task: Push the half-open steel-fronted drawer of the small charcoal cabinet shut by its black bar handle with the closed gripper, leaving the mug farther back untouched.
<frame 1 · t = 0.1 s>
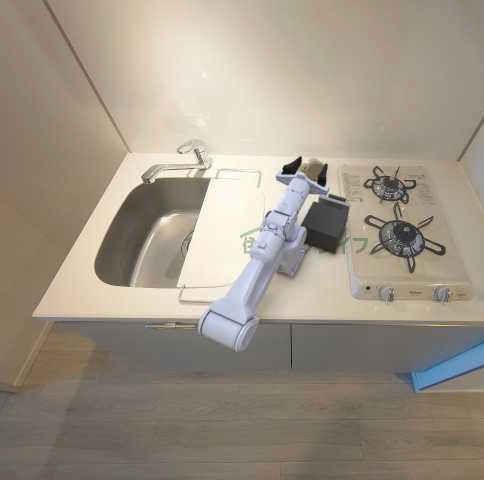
hand: (313, 162, 73), 22 cm above the worktop, tool horizontal, fingers open, 7 cm apart
mug: (313, 173, 103), on the worktop
drawer: (331, 212, 86), point 4 cm above the worktop, slide at 3.0 cm
cabinet: (323, 235, 86), on the worktop
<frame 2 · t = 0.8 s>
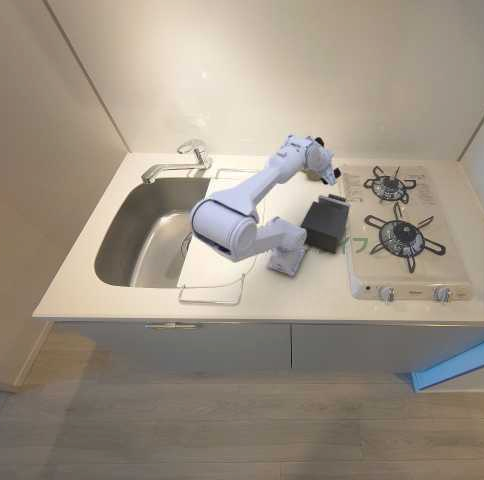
hand: (329, 164, 78), 18 cm above the worktop, tool tilted 50°, fingers open, 7 cm apart
nothing on the worktop moved.
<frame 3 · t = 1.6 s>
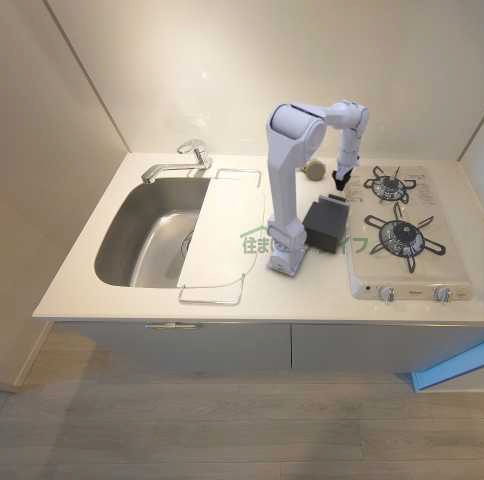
hand: (343, 182, 86), 9 cm above the worktop, tool pointing down, fingers open, 7 cm apart
nothing on the worktop moved.
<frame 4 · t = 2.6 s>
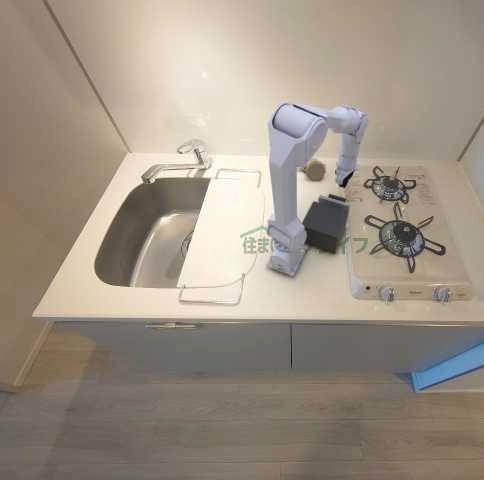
hand: (342, 186, 88), 8 cm above the worktop, tool pointing down, fingers closed
nothing on the worktop moved.
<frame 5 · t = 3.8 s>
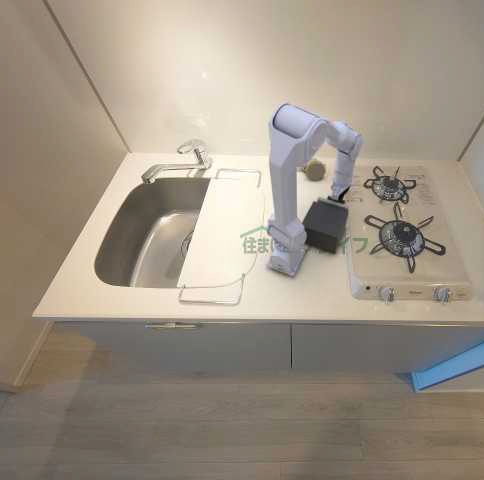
hand: (338, 200, 90), 4 cm above the worktop, tool pointing down, fingers closed
drawer: (330, 214, 85), point 4 cm above the worktop, slide at 2.0 cm, touching gripper
everything else where it was.
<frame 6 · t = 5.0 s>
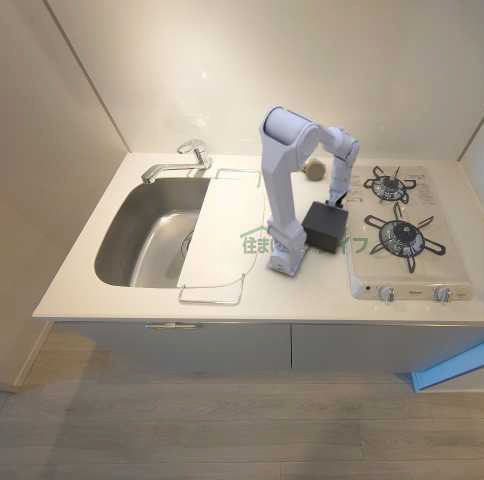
hand: (336, 205, 88), 4 cm above the worktop, tool pointing down, fingers closed, pressing on drawer
drawer: (328, 218, 84), point 4 cm above the worktop, slide at 0.0 cm, touching cabinet, gripper
everything else where it was.
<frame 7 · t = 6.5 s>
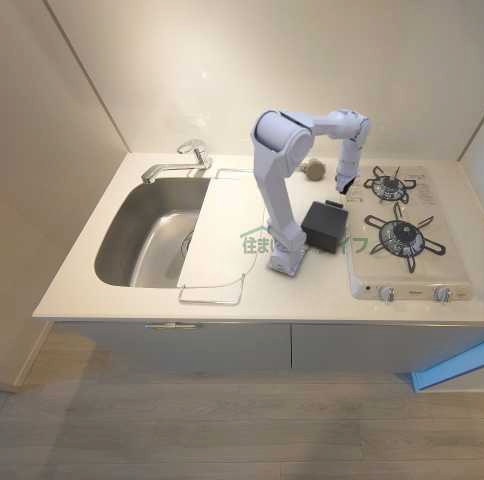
hand: (343, 192, 83), 10 cm above the worktop, tool pointing down, fingers closed
drawer: (328, 218, 84), point 4 cm above the worktop, slide at 0.0 cm
everything else where it was.
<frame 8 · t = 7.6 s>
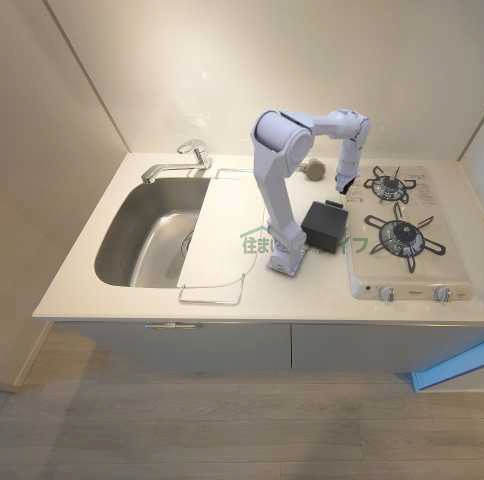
hand: (343, 192, 83), 10 cm above the worktop, tool pointing down, fingers closed
nothing on the worktop moved.
at the end: drawer slide at 0.0 cm; mug moved 0.2 cm from its start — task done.
